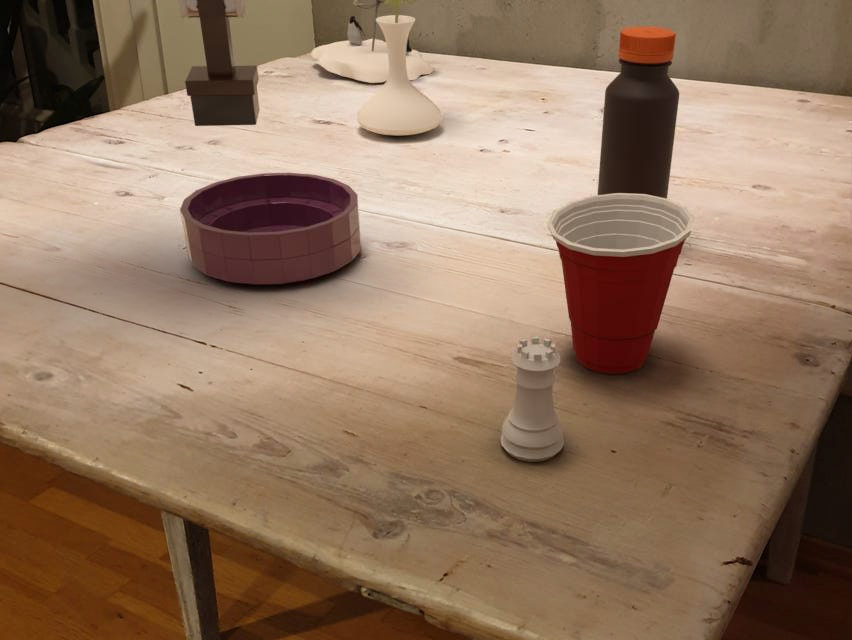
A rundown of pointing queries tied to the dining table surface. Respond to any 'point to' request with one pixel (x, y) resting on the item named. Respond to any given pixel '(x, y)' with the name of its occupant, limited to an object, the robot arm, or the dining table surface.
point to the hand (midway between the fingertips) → (213, 16)
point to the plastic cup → (617, 273)
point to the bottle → (640, 116)
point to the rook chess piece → (533, 404)
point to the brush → (221, 75)
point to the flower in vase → (398, 87)
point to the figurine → (366, 55)
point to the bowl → (271, 228)
